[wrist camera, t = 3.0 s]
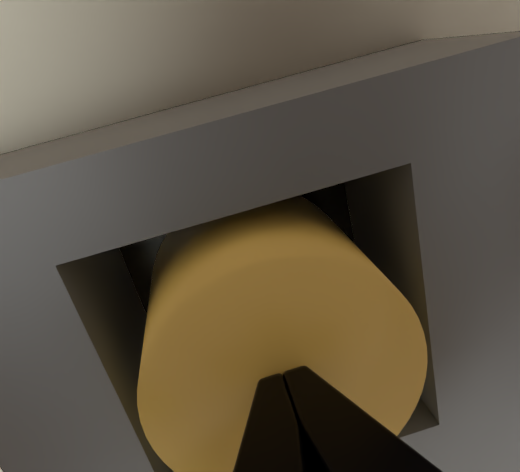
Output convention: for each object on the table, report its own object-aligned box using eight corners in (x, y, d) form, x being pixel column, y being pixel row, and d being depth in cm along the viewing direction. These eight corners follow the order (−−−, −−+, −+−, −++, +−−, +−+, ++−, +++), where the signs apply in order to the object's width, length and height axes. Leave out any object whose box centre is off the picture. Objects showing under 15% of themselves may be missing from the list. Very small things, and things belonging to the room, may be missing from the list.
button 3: (361, 333, 12) (438, 449, 9) (187, 388, 12) (190, 531, 8) (330, 161, 10) (412, 216, 7) (121, 221, 10) (86, 312, 6)
